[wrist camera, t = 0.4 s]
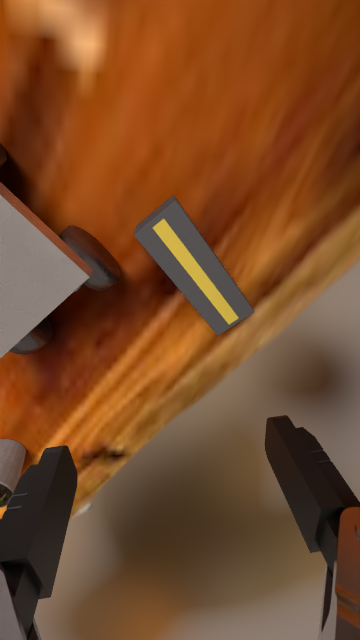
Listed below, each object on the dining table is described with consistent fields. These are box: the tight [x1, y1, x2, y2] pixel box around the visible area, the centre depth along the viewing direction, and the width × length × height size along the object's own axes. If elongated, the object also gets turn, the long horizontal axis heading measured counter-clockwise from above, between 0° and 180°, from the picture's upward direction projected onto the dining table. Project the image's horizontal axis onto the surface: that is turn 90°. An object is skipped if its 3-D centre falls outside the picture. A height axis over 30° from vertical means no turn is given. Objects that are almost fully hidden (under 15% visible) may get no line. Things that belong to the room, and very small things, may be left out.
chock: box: [134, 195, 254, 335], centre depth 27 cm, size 13×4×4 cm, turn 37°
